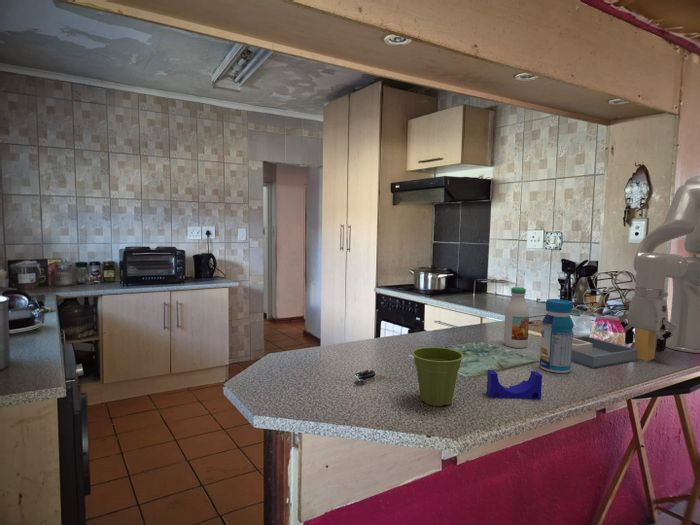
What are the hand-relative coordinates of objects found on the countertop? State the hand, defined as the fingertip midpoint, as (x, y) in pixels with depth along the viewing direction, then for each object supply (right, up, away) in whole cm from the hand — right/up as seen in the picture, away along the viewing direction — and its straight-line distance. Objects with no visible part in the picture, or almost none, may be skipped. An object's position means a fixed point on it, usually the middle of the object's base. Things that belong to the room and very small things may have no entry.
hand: (644, 347), depth 139 cm
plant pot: (-73, -6, -36) cm, 82 cm away
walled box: (-17, -3, +1) cm, 17 cm away
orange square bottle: (0, -4, 0) cm, 4 cm away
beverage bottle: (-34, -4, -12) cm, 36 cm away
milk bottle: (-36, -2, +12) cm, 38 cm away
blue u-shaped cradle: (-54, -6, -32) cm, 63 cm away
